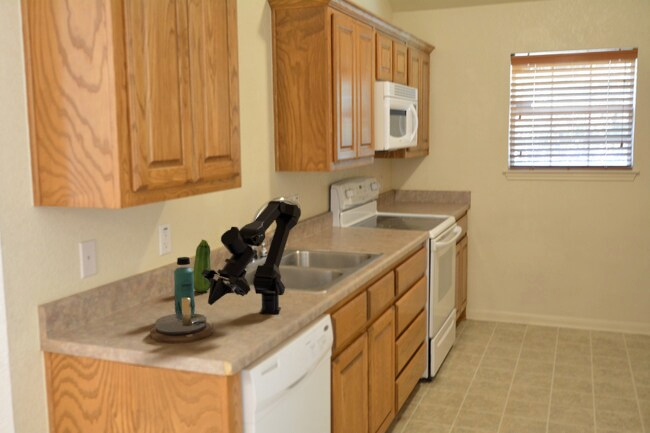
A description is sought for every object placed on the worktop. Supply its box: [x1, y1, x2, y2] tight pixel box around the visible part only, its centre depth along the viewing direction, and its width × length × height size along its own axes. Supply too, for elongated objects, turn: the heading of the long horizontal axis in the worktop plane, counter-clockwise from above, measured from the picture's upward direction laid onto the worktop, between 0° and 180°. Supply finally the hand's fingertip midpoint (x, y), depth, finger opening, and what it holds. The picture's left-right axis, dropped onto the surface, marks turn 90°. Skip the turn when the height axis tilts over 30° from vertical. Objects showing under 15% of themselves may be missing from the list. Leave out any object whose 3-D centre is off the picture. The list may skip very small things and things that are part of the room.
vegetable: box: [193, 238, 212, 293], centre depth 253 cm, size 7×7×20 cm
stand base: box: [150, 322, 213, 344], centre depth 203 cm, size 18×18×2 cm
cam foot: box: [154, 297, 208, 336], centre depth 202 cm, size 15×15×10 cm
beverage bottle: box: [173, 256, 196, 314], centre depth 218 cm, size 6×7×20 cm
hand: (209, 304), depth 202 cm, fingers closed
